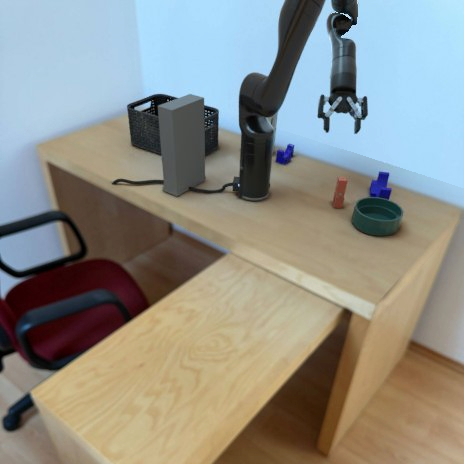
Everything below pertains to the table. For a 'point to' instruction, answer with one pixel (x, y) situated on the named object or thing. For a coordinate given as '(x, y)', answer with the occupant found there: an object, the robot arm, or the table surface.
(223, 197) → the table surface
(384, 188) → the cable clip
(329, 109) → the robot arm
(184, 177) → the tall grey upright pillar
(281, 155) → the cable holder
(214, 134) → the storage bin
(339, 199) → the clothespin
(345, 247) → the table surface
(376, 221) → the bowl
